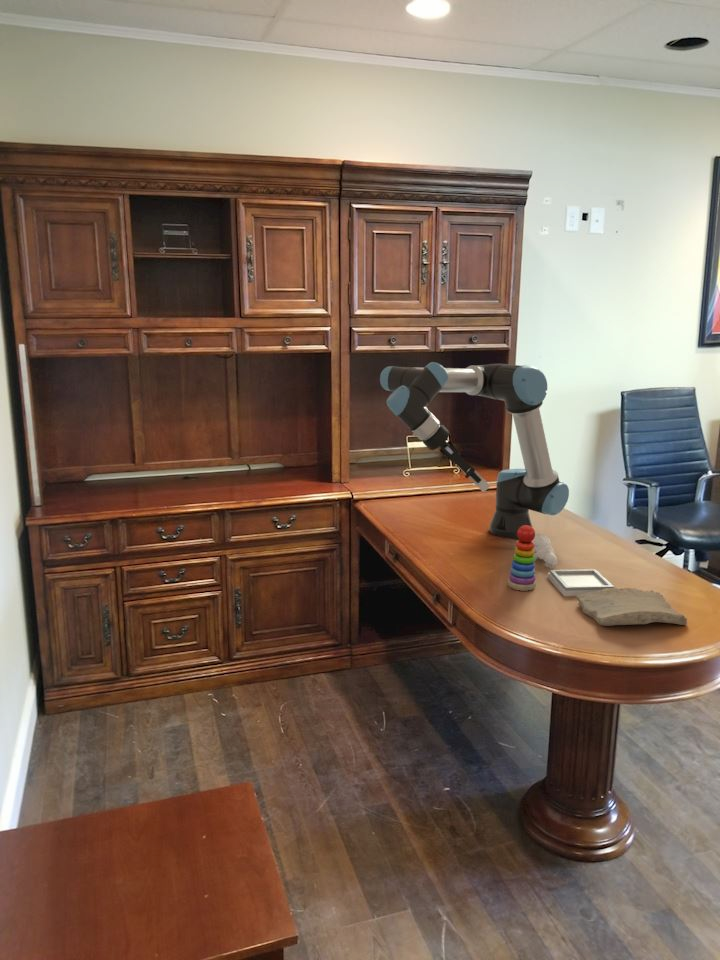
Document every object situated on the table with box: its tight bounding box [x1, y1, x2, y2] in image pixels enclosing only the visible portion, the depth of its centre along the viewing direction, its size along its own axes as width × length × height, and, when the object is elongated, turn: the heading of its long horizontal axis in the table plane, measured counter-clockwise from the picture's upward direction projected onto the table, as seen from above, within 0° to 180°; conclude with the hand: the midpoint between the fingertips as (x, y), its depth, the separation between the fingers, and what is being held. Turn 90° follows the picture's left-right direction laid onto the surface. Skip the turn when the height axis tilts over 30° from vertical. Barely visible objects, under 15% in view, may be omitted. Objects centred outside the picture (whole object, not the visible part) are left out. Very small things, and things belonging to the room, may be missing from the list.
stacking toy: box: [507, 525, 537, 592], centre depth 214 cm, size 8×8×19 cm
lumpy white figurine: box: [531, 533, 558, 569], centre depth 234 cm, size 6×8×12 cm
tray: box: [547, 568, 615, 597], centre depth 216 cm, size 15×15×2 cm
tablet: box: [576, 587, 688, 627], centre depth 195 cm, size 24×8×20 cm
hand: (480, 483), depth 214 cm, fingers open, 13 cm apart
